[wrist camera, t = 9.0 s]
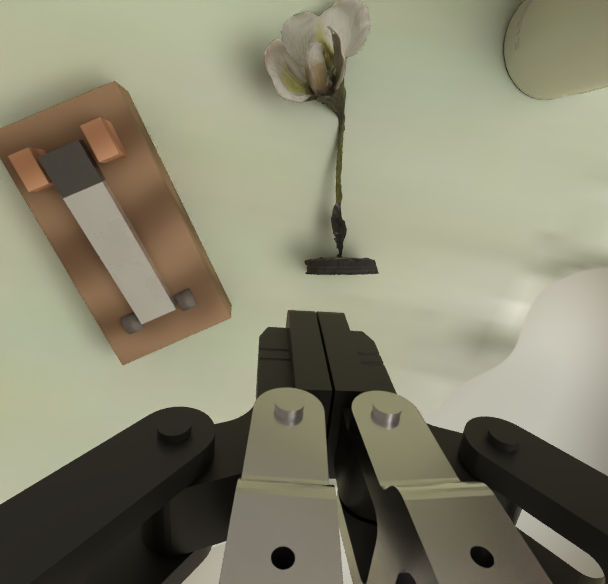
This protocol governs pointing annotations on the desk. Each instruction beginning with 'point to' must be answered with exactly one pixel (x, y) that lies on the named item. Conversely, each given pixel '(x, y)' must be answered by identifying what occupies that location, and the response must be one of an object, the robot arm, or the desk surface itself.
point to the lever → (108, 229)
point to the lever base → (137, 206)
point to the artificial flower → (322, 91)
